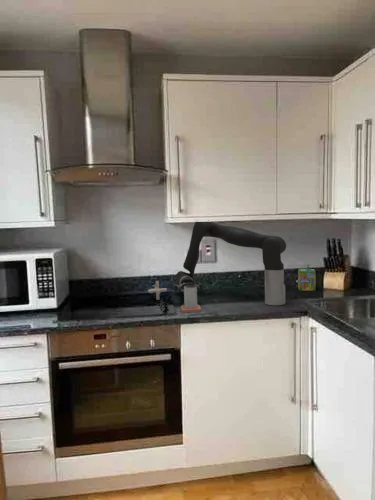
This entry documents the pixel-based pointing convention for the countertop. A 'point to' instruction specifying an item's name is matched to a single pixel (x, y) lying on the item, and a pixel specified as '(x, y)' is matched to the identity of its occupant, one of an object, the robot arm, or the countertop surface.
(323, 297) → the countertop surface
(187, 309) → the shaft block
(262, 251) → the robot arm
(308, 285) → the chalk box
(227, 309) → the countertop surface
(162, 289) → the pipe connector
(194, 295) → the grey cylinder
